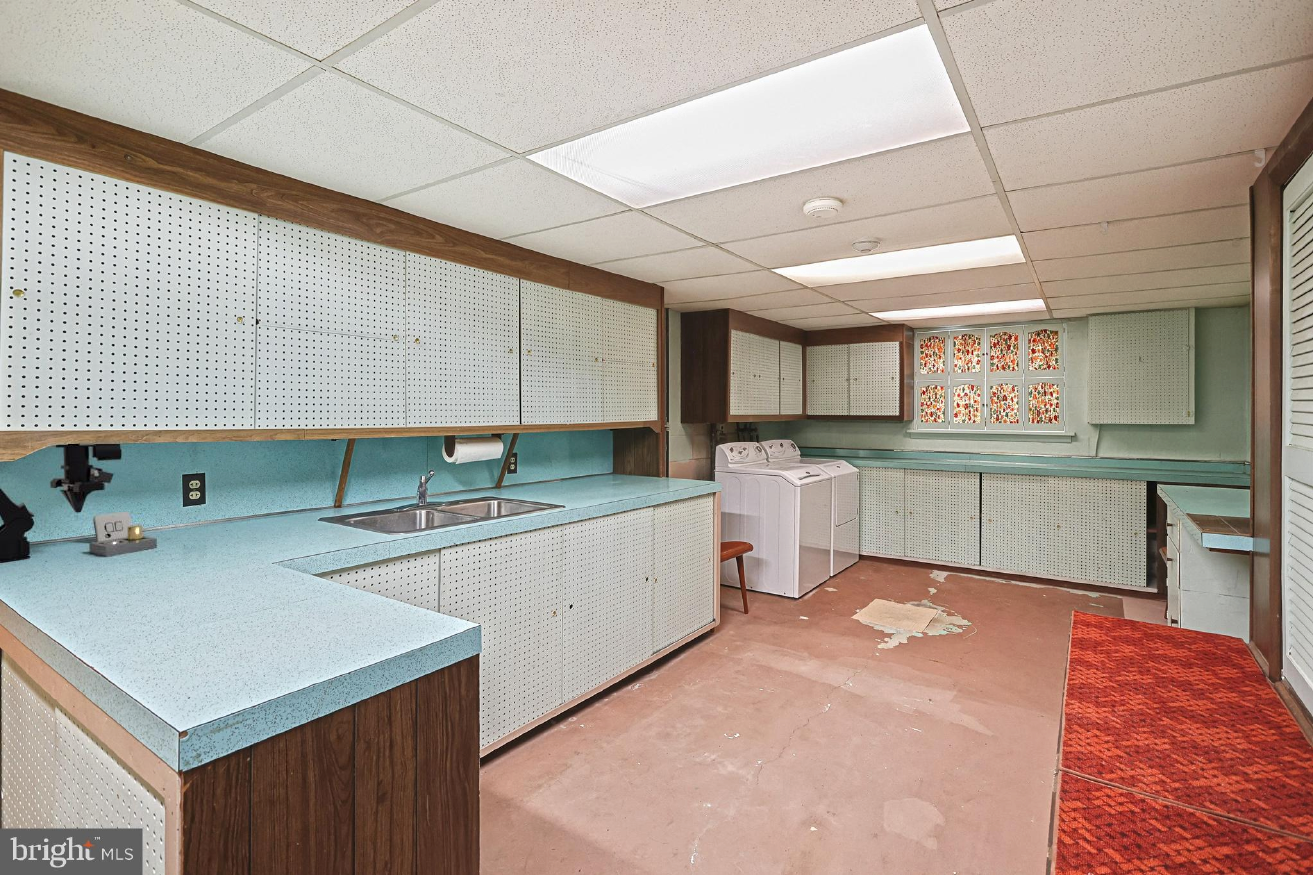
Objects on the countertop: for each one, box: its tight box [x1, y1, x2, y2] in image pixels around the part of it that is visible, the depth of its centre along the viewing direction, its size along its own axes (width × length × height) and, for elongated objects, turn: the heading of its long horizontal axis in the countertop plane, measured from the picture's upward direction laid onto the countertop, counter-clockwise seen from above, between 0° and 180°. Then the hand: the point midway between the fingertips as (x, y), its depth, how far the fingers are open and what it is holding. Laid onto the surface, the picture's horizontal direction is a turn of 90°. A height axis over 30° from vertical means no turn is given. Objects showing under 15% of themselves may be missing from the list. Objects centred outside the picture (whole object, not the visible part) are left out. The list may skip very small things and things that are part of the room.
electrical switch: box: [92, 511, 132, 542], centre depth 205 cm, size 9×5×9 cm, turn 152°
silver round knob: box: [104, 540, 120, 545], centre depth 189 cm, size 4×4×4 cm
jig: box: [88, 535, 158, 558], centre depth 192 cm, size 13×10×3 cm
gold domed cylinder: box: [127, 524, 143, 541], centre depth 194 cm, size 4×4×7 cm
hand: (78, 512), depth 189 cm, fingers closed
